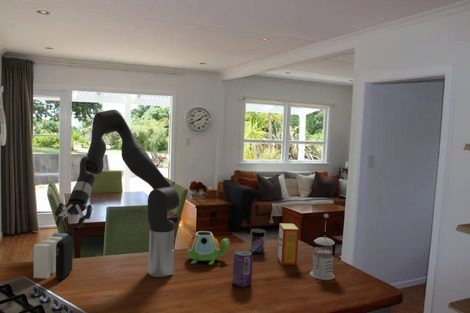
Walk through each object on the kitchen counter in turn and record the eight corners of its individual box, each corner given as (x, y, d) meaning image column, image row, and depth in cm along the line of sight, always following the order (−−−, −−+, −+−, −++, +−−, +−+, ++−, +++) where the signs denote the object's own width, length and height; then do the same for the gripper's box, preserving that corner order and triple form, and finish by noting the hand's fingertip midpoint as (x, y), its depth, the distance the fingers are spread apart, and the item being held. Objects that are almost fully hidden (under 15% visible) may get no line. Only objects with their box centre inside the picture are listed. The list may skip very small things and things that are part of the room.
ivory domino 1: (36, 275, 138) (36, 243, 137) (50, 276, 138) (50, 244, 137) (33, 277, 136) (33, 245, 135) (47, 278, 136) (47, 246, 135)
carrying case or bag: (61, 283, 132) (61, 242, 131) (52, 283, 132) (52, 242, 131) (73, 271, 143) (74, 233, 142) (65, 271, 143) (66, 233, 142)
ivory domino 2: (49, 266, 147) (49, 236, 146) (61, 267, 147) (62, 237, 146) (46, 268, 145) (46, 237, 144) (59, 269, 145) (59, 238, 144)
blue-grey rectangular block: (54, 262, 151) (55, 233, 150) (67, 262, 151) (67, 233, 150) (52, 264, 149) (52, 234, 148) (65, 264, 149) (65, 235, 148)
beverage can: (253, 282, 142) (255, 251, 141) (248, 289, 135) (249, 256, 134) (235, 278, 144) (237, 248, 143) (229, 285, 137) (231, 253, 136)
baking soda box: (277, 257, 170) (279, 222, 169) (291, 257, 171) (293, 222, 170) (281, 264, 161) (283, 228, 160) (296, 265, 161) (298, 228, 160)
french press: (339, 275, 152) (343, 214, 150) (324, 283, 144) (329, 218, 142) (317, 268, 159) (321, 210, 157) (302, 275, 150) (306, 213, 148)
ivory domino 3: (43, 270, 142) (43, 239, 141) (56, 271, 142) (56, 240, 141) (40, 272, 140) (40, 241, 139) (53, 273, 140) (53, 242, 139)
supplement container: (246, 252, 174) (248, 230, 174) (255, 249, 180) (256, 227, 179) (259, 256, 170) (260, 233, 170) (267, 252, 176) (268, 230, 175)
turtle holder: (231, 265, 158) (232, 237, 157) (188, 265, 155) (189, 237, 154) (226, 254, 170) (228, 229, 169) (186, 255, 167) (187, 229, 166)
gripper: (61, 188, 164) (48, 220, 153) (94, 190, 164) (82, 222, 153) (67, 198, 170) (54, 230, 159) (98, 199, 169) (87, 231, 159)
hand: (68, 226), depth 156 cm, fingers open, 8 cm apart
